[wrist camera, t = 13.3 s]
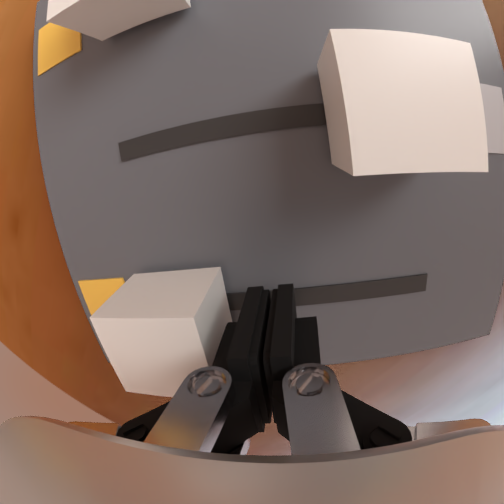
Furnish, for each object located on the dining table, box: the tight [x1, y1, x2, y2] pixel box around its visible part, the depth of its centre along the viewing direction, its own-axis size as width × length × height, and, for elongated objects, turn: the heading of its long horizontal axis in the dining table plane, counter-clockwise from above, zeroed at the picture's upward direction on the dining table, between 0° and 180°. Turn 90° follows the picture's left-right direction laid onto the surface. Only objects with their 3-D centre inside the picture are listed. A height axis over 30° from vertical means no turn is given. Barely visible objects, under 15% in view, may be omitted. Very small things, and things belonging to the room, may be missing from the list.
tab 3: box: [317, 29, 488, 176], centre depth 7 cm, size 4×4×4 cm
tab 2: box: [90, 267, 232, 397], centre depth 11 cm, size 4×4×4 cm
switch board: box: [33, 0, 504, 365], centre depth 11 cm, size 22×22×2 cm
